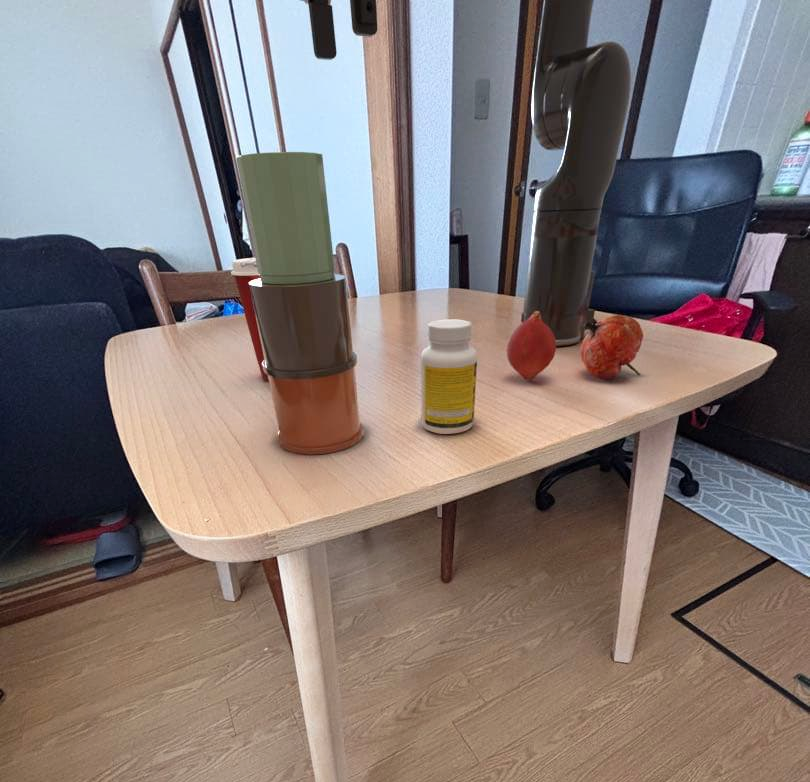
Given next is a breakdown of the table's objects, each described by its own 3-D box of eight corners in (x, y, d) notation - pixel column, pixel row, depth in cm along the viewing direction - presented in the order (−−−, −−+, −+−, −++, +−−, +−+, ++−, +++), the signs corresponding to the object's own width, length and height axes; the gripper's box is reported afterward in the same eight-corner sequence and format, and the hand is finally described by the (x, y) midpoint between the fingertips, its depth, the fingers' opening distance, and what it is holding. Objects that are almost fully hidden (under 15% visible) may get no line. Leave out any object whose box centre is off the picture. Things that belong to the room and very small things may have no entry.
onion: (495, 381, 60) (501, 312, 55) (519, 370, 63) (526, 305, 58) (536, 389, 56) (545, 317, 52) (559, 378, 60) (570, 309, 55)
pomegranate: (615, 383, 64) (563, 335, 62) (664, 341, 59) (608, 287, 57) (618, 407, 59) (560, 356, 57) (671, 363, 54) (610, 305, 52)
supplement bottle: (482, 431, 47) (489, 325, 41) (431, 439, 46) (430, 332, 40) (461, 412, 51) (465, 315, 45) (414, 419, 50) (412, 320, 44)
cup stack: (341, 414, 52) (324, 270, 44) (378, 440, 46) (367, 278, 38) (267, 432, 49) (233, 280, 40) (296, 462, 42) (263, 290, 34)
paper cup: (298, 385, 61) (277, 261, 53) (244, 383, 63) (216, 263, 54) (318, 367, 67) (302, 255, 59) (269, 366, 69) (247, 256, 61)
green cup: (318, 272, 43) (303, 160, 38) (347, 278, 38) (335, 152, 33) (251, 279, 40) (227, 159, 35) (274, 287, 36) (250, 151, 31)
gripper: (409, -315, 32) (417, 30, 41) (323, -188, 42) (346, 67, 51) (307, -363, 29) (341, 22, 38) (240, -213, 39) (281, 63, 48)
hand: (344, 47), depth 45 cm, fingers open, 8 cm apart
